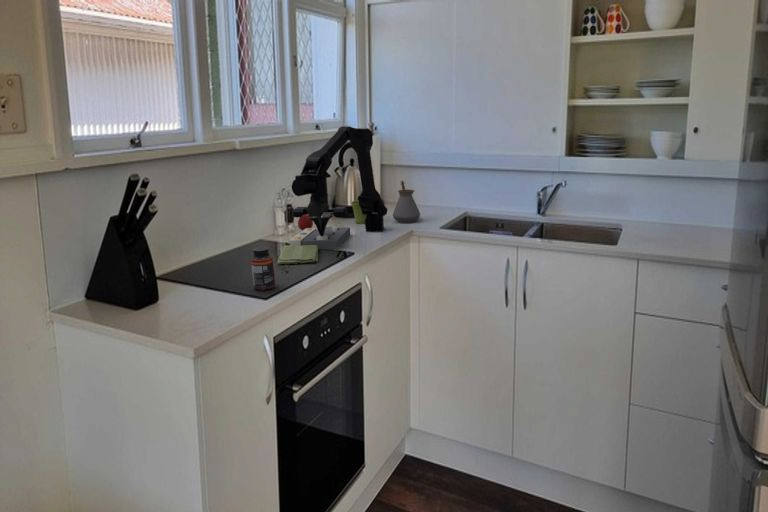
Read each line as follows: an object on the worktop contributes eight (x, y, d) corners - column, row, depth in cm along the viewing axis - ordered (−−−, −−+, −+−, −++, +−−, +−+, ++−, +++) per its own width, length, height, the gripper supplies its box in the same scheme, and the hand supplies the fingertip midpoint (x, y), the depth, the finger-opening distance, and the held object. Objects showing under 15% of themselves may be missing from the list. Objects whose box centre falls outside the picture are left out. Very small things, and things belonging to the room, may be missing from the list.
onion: (310, 234, 232) (309, 213, 230) (296, 234, 233) (295, 213, 231) (315, 230, 237) (313, 211, 235) (301, 230, 238) (300, 211, 236)
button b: (334, 234, 219) (333, 225, 218) (331, 237, 215) (330, 227, 214) (323, 234, 219) (322, 225, 218) (320, 237, 216) (319, 227, 215)
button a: (338, 236, 226) (338, 226, 225) (336, 238, 222) (335, 228, 221) (328, 235, 227) (328, 226, 226) (325, 238, 223) (325, 228, 222)
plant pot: (373, 224, 245) (373, 203, 243) (350, 225, 246) (349, 204, 243) (374, 219, 254) (373, 199, 252) (352, 220, 255) (351, 200, 252)
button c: (329, 244, 213) (328, 234, 212) (326, 247, 209) (326, 237, 208) (318, 244, 213) (318, 234, 212) (315, 247, 209) (314, 237, 208)
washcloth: (276, 267, 189) (275, 257, 188) (282, 253, 206) (281, 244, 205) (318, 265, 190) (317, 255, 189) (320, 251, 207) (319, 242, 206)
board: (350, 235, 227) (350, 227, 226) (336, 249, 206) (336, 241, 205) (319, 235, 229) (319, 227, 228) (302, 249, 208) (302, 241, 207)
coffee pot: (421, 223, 244) (421, 186, 240) (393, 224, 243) (392, 188, 239) (416, 213, 264) (415, 179, 261) (390, 214, 264) (389, 181, 260)
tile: (316, 235, 228) (316, 227, 228) (301, 248, 209) (300, 239, 209) (306, 235, 229) (305, 227, 228) (290, 248, 210) (289, 239, 209)
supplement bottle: (264, 283, 171) (261, 244, 168) (279, 286, 168) (276, 247, 165) (249, 289, 166) (245, 249, 163) (264, 292, 163) (260, 252, 160)
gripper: (285, 196, 200) (289, 241, 204) (340, 195, 197) (342, 241, 201) (295, 190, 211) (299, 234, 215) (347, 190, 207) (349, 234, 211)
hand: (322, 236), depth 210 cm, fingers closed, pressing on button c
